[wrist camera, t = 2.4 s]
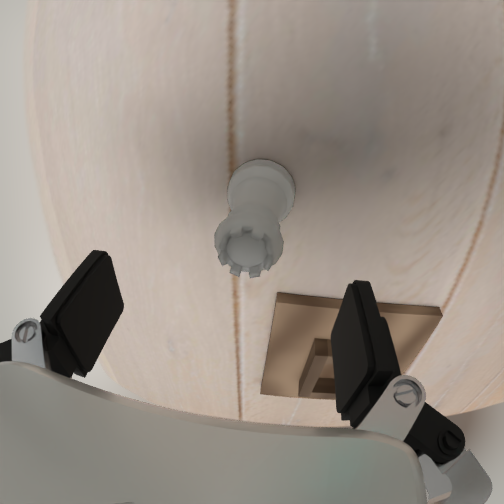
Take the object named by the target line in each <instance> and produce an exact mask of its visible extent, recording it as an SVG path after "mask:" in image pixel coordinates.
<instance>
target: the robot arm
mask: <svg viewBox="0 0 504 504" xmlns="http://www.w3.org/2000/svg"><path fill="white" fill-rule="evenodd" d="M123 309H124V303H123V300H122V296H121V293H120V289H119V286H118V282H117V279H116V275H115V271H114V267H113V263H112V259H111V257H110V256H109V255H108V253H107V252H105V251H99V250H93V251H92V252H91V253H90V254H89V255H88V256H87V257H86V259H85V260H84V261H83V262H82V263H81V264H80V266H79V267H78V268H77V269H76V270H75V272H74V273H73V274H72V275H71V277H70V278H69V279H68V280H67V281H66V283H65V284H64V285H63V286H62V288H61V289H60V290H59V292H58V293H57V294H56V295H55V297H54V298H53V299H52V301H51V302H50V303H49V305H48V306H47V307H46V309H45V310H44V311H43V313H42V314H41V316H40V317H41V319H42V320H41V322H40V323H39V322H38V320H36V319H32V318H30V319H25V320H23V321H21V322H20V323H19V324H17V325H16V327H15V328H14V330H13V333H12V339H10V340H8V341H5V342H3V343H0V504H484V503H485V502H486V501H487V500H488V498H489V496H490V495H491V492H492V482H491V480H490V478H489V476H488V475H487V473H486V472H485V470H484V469H483V468H482V466H481V465H480V463H479V462H478V461H477V459H476V458H475V456H474V455H473V454H472V452H471V451H470V450H467V451H466V450H465V448H464V446H465V437H464V434H463V432H462V430H461V429H460V428H459V427H458V426H457V425H455V424H454V423H453V422H451V421H450V420H448V419H447V418H446V417H445V416H443V415H442V414H440V413H439V412H438V411H436V410H435V409H434V408H432V407H431V406H430V405H428V404H427V403H426V402H425V400H426V392H425V389H424V387H423V385H422V384H421V382H419V381H418V380H417V379H416V378H414V377H411V376H407V375H401V371H400V367H399V363H398V359H397V355H396V352H395V348H394V344H393V341H392V337H391V334H390V330H389V327H388V323H387V321H386V318H384V317H381V316H380V313H379V309H378V306H377V303H376V300H375V296H374V293H373V290H372V287H371V284H370V282H369V281H359V280H354V282H353V284H348V287H347V290H346V292H345V295H344V298H343V301H342V304H341V307H340V310H339V312H338V315H337V318H336V321H335V323H334V326H333V329H332V331H331V348H332V358H333V369H334V381H335V394H336V409H337V412H338V413H341V419H342V420H350V426H352V427H353V428H352V429H348V428H324V427H299V426H285V425H272V424H261V423H251V422H243V421H235V420H228V419H222V418H215V417H209V416H204V415H198V414H193V413H188V412H183V411H178V410H174V409H169V408H165V407H161V406H157V405H152V404H149V403H145V402H141V401H138V400H134V399H130V398H127V397H123V396H120V395H117V394H114V393H111V392H108V391H104V390H101V389H98V388H96V387H93V386H90V385H87V384H84V383H82V382H79V381H76V380H73V379H72V375H73V373H75V374H76V375H79V376H82V377H84V378H85V377H86V375H87V373H88V372H90V371H91V370H92V368H93V366H94V364H95V362H96V360H97V358H98V356H99V355H100V353H101V351H102V349H103V347H104V345H105V343H106V341H107V339H108V337H109V336H110V334H111V332H112V330H113V328H114V326H115V324H116V323H117V321H118V319H119V317H120V315H121V314H122V312H123ZM426 489H427V492H428V494H429V500H428V502H427V497H426Z"/></svg>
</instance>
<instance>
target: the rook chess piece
mask: <svg viewBox="0 0 504 504" xmlns="http://www.w3.org/2000/svg"><path fill="white" fill-rule="evenodd" d="M294 197H295V185H294V182H293V179H292V176H291V175H290V174H289V173H288V172H287V171H286V169H285V168H284V167H283V166H281V165H279V164H277V163H275V162H273V161H271V160H260V159H256V160H253V161H249V162H246V163H244V164H242V165H241V166H240V167H239V168H238V169H237V170H235V171H234V173H233V175H232V177H231V179H230V182H229V185H228V188H227V200H228V203H229V206H230V208H231V212H230V213H229V215H228V217H227V218H226V219H225V220H224V221H223V222H221V223H220V224H219V226H218V228H217V230H216V232H215V235H214V236H215V248H216V250H217V252H218V254H219V256H218V258H219V260H220V263H221V265H222V266H223V265H225V264H228V265H229V266H231V270H230V273H231V274H234V275H236V276H238V277H239V276H240V273H241V271H244V272H249V277H250V278H254V277H259V276H260V272H261V270H267V271H268V270H269V269H270V267H271V266H272V265H274V264H275V263H276V262H277V261H278V259H279V258H280V256H281V255H282V251H283V243H284V241H283V238H282V235H281V233H280V225H279V222H280V221H282V220H283V219H285V218H286V217H287V215H288V213H289V212H290V210H291V208H292V207H293V202H294Z"/></svg>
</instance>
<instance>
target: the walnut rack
mask: <svg viewBox="0 0 504 504" xmlns="http://www.w3.org/2000/svg"><path fill="white" fill-rule="evenodd" d="M342 301H343V300H342V299H332V298H322V297H312V296H303V295H294V294H286V293H277V298H276V304H275V310H274V316H273V322H272V328H271V334H270V340H269V346H268V351H267V357H266V363H265V368H264V374H263V379H262V384H261V392H260V394H264V395H273V396H284V397H295V398H310V399H332V400H336V394H335V381H334V369H333V358H332V348H331V331H332V329H333V326H334V323H335V321H336V318H337V315H338V312H339V310H340V307H341V304H342ZM377 306H378V309H379V313H380V316H381V317H384V318H386V321H387V323H388V327H389V330H390V334H391V337H392V341H393V344H394V348H395V352H396V355H397V359H398V363H399V367H400V371H401V375H402V374H403V373H404V372H405V370H406V369H407V368H408V367H409V365H410V364H411V362H412V361H413V360H414V358H415V357H416V356H417V354H418V353H419V351H420V350H421V349H422V347H423V346H424V344H425V343H426V341H427V340H428V338H429V337H430V335H431V334H432V332H433V331H434V329H435V328H436V326H437V325H438V323H439V321H440V320H441V318H442V317H443V315H442V313H441V310H440V308H439V307H427V306H413V305H399V304H386V303H377Z"/></svg>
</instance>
